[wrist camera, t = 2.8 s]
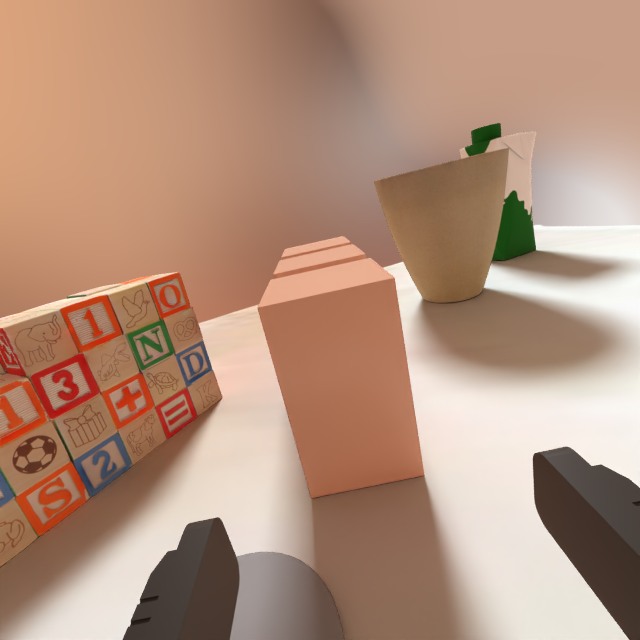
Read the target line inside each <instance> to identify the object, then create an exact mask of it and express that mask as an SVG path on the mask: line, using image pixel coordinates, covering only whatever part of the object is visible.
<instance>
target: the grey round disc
mask: <svg viewBox="0 0 640 640" xmlns="http://www.w3.org/2000/svg"><path fill="white" fill-rule="evenodd" d="M237 560H238V565H239V574H240V582H239V591H238V597H237V602H236V608H235V613H234V619H233V625H232V630H231V636H230V640H344V637H343V630H342V626H341V622H340V619H339V615H338V611H337V608H336V605H335V603H334V600H333V598H332V595H331V593H330V592H329V590H328V588H327V587H326V585H325V583H324V582H323V581H322V579H321V578H320V577H319V576H318V574H317V573H316V572H315V571H314V570H312V569H311V568H310V567H309V566H308V565H306V564H305V563H303V562H302V561H300V560H298V559H296V558H294V557H292V556H289V555H285V554H282V553H275V552H257V553H249V554H245V555H242V556H238V557H237Z"/></svg>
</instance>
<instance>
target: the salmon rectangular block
mask: <svg viewBox="0 0 640 640" xmlns="http://www.w3.org/2000/svg"><path fill="white" fill-rule="evenodd" d="M362 259H366V255H365V253H364V252H362V251H361V250H360V249H359V248H357V247H356V246H355V245H354V244H351V245H347V246H342V247H338V248H333V249H329V250H324V251H320V252H315V253H311V254H306V255H302V256H297V257H293V258H289V259H284V260H280V261H279V263H278V265H277V268H276V270H275V272H274V279H277V278H281V277H286V276H290V275H295V274H299V273H304V272H308V271H313V270H317V269H322V268H326V267H331V266H335V265H340V264H344V263H349V262H353V261H358V260H362Z"/></svg>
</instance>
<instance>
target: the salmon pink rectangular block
mask: <svg viewBox="0 0 640 640" xmlns="http://www.w3.org/2000/svg"><path fill="white" fill-rule="evenodd" d="M258 312H259V315H260V319H261V322H262V326H263V329H264V333H265V336H266V340H267V343H268V347H269V350H270V354H271V357H272V361H273V364H274V368H275V371H276V375H277V379H278V382H279V386H280V389H281V393H282V396H283V400H284V403H285V407H286V410H287V414H288V417H289V421H290V424H291V428H292V431H293V435H294V438H295V442H296V446H297V449H298V453H299V456H300V460H301V463H302V467H303V470H304V474H305V477H306V481H307V484H308V488H309V491H310V495H311V498H315V497H320V496H325V495H330V494H335V493H340V492H345V491H350V490H355V489H360V488H365V487H370V486H374V485H379V484H384V483H389V482H394V481H399V480H404V479H409V478H414V477H419V476H424V470H423V464H422V457H421V450H420V444H419V437H418V430H417V424H416V417H415V410H414V404H413V397H412V391H411V384H410V377H409V371H408V364H407V357H406V351H405V344H404V337H403V331H402V324H401V317H400V311H399V304H398V298H397V291H396V284H395V278H394V277H393V276H392V275H391V274H389V273H388V272H387V271H386V270H384V269H383V268H382V267H381V266H379V265H378V264H377V263H376V262H374V261H373V260H372V259H371V258H367V259H362V260H358V261H353V262H349V263H344V264H340V265H335V266H331V267H326V268H322V269H317V270H313V271H308V272H304V273H299V274H295V275H290V276H286V277H281V278H277V279H272V280H270V282H269V284H268V286H267V289H266V291H265V293H264V295H263V297H262V299H261V301H260V303H259V305H258Z"/></svg>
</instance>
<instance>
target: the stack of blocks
mask: <svg viewBox="0 0 640 640" xmlns="http://www.w3.org/2000/svg"><path fill="white" fill-rule="evenodd" d="M202 338H203V337H202V334H201V331H200V327H199V325H198V321H197V319H196V315H195V313H194V310H193V307H191V306H190V303H189V299H188V297H187V293H186V290H185V287H184V284H183V281H182V278H181V276H180V273H179V272H174V273H167V274H158V275H153V276H147V277H142V278H137V279H133V280H130V281H126V282H123V283H119V284H114V285H108V286H101V287H98V288H95V289H91V290H88V291H84V292H81V293H77V294H74V295H71V296H68V297H67V299H63V300H59V301H56V302H52V303H49V304H46V305H43V306H39V307H36V308H33V309H30V310H26V311H24V312H22V313H17V314H14V315H10V316H7V317H3V318H0V567H1V566H2V565H4V564H5V563H6V562H8V561H9V560H10V559H12V558H13V557H14V556H16V555H17V554H18V553H20V552H21V551H22V550H23V549H25V548H26V547H27V546H29V545H30V544H31V543H32V542H33V541H35V540H36V539H37V537H38V536H41V535H43V534H44V533H46V532H47V531H48V530H50V529H51V528H52V527H54V526H55V525H56V524H58V523H59V522H60V521H62V520H63V519H64V518H66V517H67V516H68V515H69V514H71V513H72V512H73V511H75V510H76V509H77V508H79V507H80V506H81V505H83V504H84V503H85V502H87V501H88V500H89V498H90V497H92V496H94V495H95V494H96V493H98V492H99V491H100V490H102V489H103V488H104V487H106V486H107V485H108V484H109V483H111V482H112V481H113V480H115V479H116V478H117V477H119V476H120V475H121V474H123V473H124V472H125V471H127V470H128V469H129V468H130V467H131V466H132V465H134V464H135V463H137V462H138V461H139V460H141V459H142V458H143V457H145V456H146V455H147V454H149V453H150V452H151V451H152V450H154V449H155V448H156V447H158V446H159V445H160V444H162V443H163V442H164V441H165V440H167V439H169V438H170V437H172V436H173V435H174V434H176V433H177V432H178V431H179V430H181V429H182V428H183V427H185V426H186V425H187V424H189V423H190V422H191V421H193V420H194V419H195V418H197V417H198V416H199V415H201V414H202V413H203V412H205V411H206V410H207V409H209V408H210V407H211V406H213V405H214V404H215V403H216V402H218V401H219V400H220V399H222V394H221V391H220V389H219V386H218V383H217V380H216V377H215V374H214V371H213V370H212V366H211V363H210V360H209V357H208V354H207V351H206V348H205V345H204V342H203V339H202Z"/></svg>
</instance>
